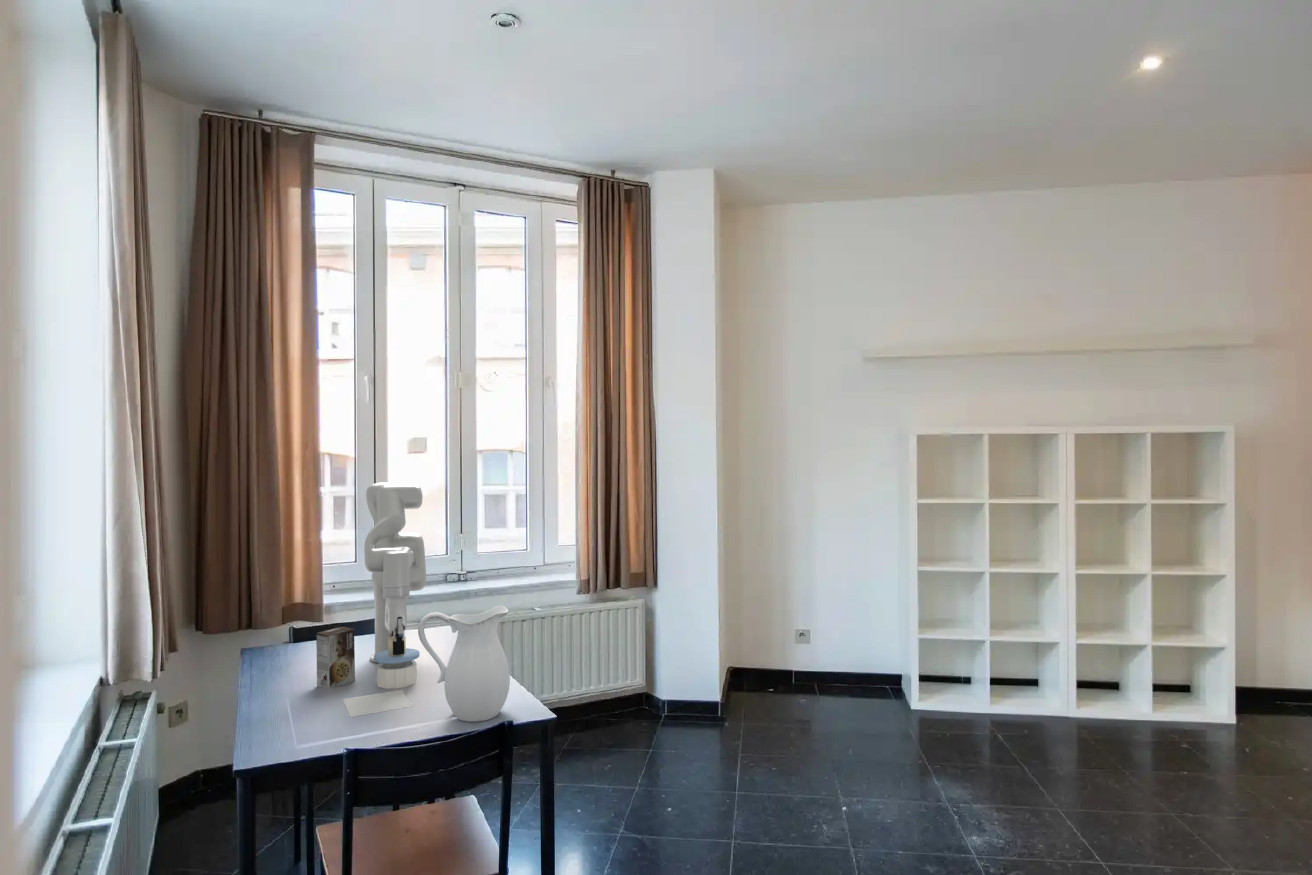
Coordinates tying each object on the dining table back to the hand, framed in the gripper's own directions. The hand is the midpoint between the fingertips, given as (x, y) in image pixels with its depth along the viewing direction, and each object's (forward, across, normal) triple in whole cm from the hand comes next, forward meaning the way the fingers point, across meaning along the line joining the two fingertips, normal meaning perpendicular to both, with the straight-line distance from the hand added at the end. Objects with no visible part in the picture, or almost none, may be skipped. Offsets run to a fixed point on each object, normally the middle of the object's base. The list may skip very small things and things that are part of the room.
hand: (396, 651), depth 228 cm
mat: (+10, +16, -8) cm, 20 cm away
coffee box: (+10, -10, -16) cm, 21 cm away
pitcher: (+10, +36, +11) cm, 39 cm away
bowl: (+10, 0, 0) cm, 10 cm away
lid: (+2, 0, 0) cm, 2 cm away
